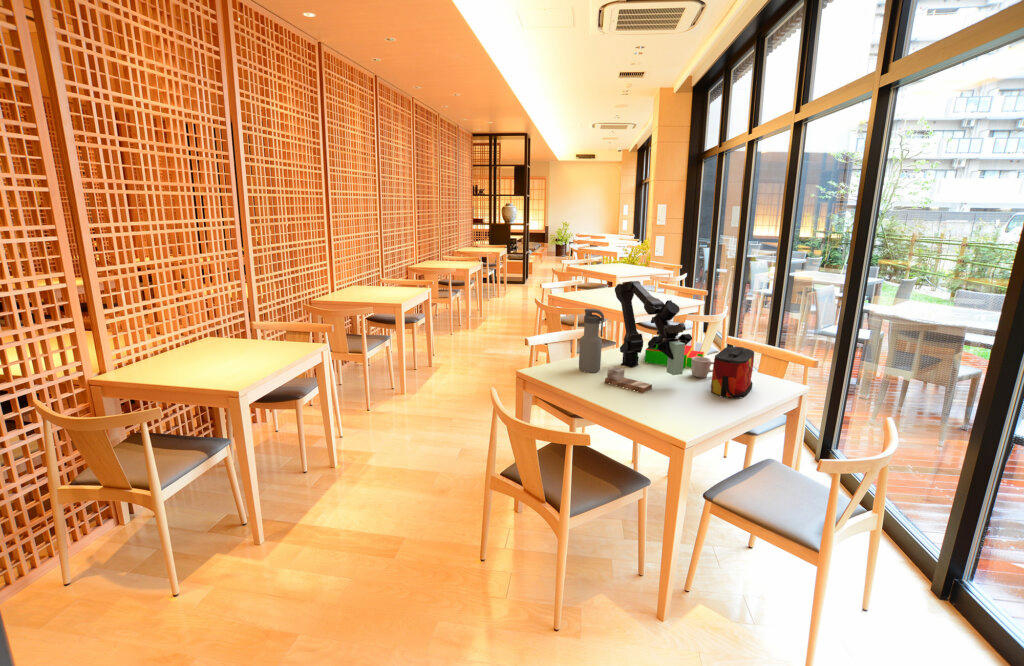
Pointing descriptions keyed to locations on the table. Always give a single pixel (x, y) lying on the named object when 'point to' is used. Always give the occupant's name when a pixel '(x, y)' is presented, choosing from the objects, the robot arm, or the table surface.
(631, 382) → the brown long stepped block
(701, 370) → the cup
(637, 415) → the table surface
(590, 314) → the water bottle
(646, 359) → the building blocks toy
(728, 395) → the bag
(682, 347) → the pillar
